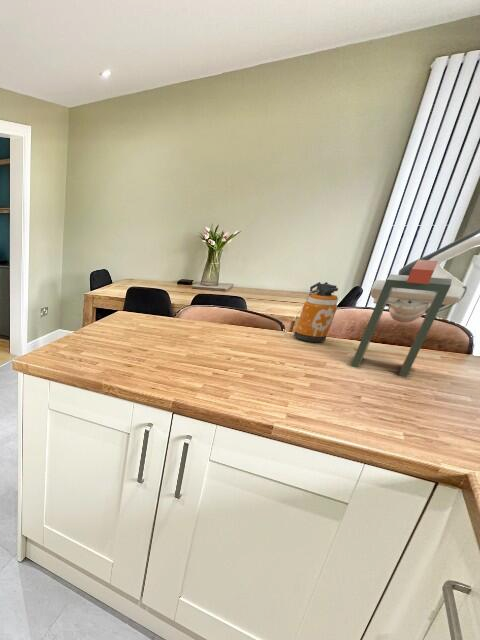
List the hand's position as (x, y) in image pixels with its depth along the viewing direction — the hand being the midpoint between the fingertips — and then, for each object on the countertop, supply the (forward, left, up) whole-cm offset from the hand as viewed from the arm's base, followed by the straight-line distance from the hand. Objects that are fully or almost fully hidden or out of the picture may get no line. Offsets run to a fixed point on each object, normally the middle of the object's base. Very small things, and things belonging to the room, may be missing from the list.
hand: (418, 282), depth 123 cm
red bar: (+6, +15, +4) cm, 17 cm away
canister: (+21, -4, -22) cm, 31 cm away
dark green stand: (+7, +19, -22) cm, 30 cm away
